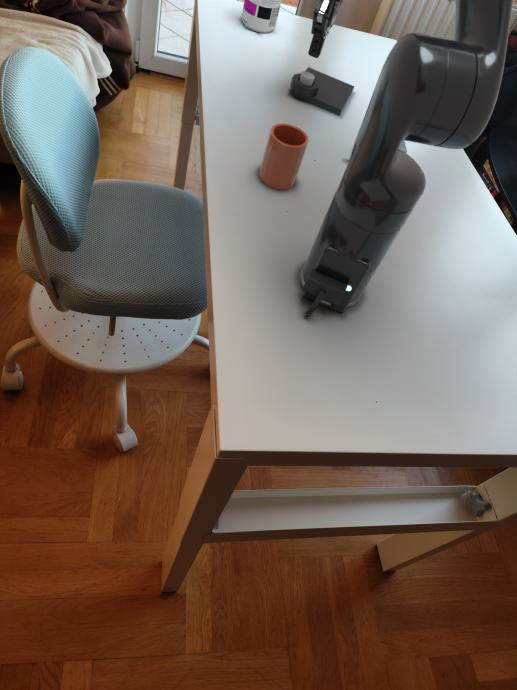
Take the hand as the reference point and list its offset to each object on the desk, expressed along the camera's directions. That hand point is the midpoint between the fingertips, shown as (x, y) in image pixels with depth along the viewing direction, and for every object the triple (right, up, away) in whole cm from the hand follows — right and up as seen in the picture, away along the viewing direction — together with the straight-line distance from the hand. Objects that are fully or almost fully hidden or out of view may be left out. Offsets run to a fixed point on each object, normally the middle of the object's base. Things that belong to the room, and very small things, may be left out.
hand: (313, 55), depth 95 cm
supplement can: (-11, +19, +21) cm, 30 cm away
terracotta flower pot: (-8, -28, -12) cm, 32 cm away
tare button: (-1, -3, +4) cm, 5 cm away
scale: (+3, -3, +9) cm, 10 cm away
